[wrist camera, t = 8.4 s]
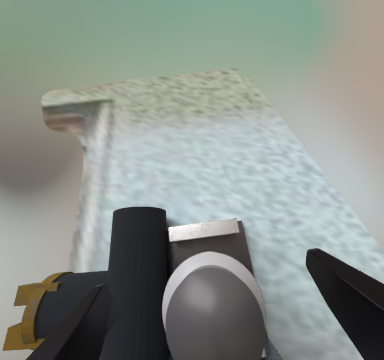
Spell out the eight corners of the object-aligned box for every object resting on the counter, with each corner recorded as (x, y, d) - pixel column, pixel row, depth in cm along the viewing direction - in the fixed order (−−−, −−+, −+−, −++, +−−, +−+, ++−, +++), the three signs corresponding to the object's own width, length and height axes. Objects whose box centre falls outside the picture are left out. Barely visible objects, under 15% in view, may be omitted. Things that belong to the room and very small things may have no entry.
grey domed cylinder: (245, 297, 16) (311, 381, 6) (195, 318, 16) (171, 444, 6) (223, 244, 18) (244, 235, 8) (178, 261, 18) (136, 277, 7)
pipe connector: (-40, 480, 10) (29, 215, 16) (39, 405, 15) (71, 224, 21) (160, 472, 10) (159, 204, 15) (175, 398, 15) (170, 215, 20)
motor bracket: (284, 417, 13) (321, 499, 9) (178, 427, 14) (164, 512, 9) (240, 221, 19) (250, 212, 14) (166, 231, 19) (153, 225, 15)
